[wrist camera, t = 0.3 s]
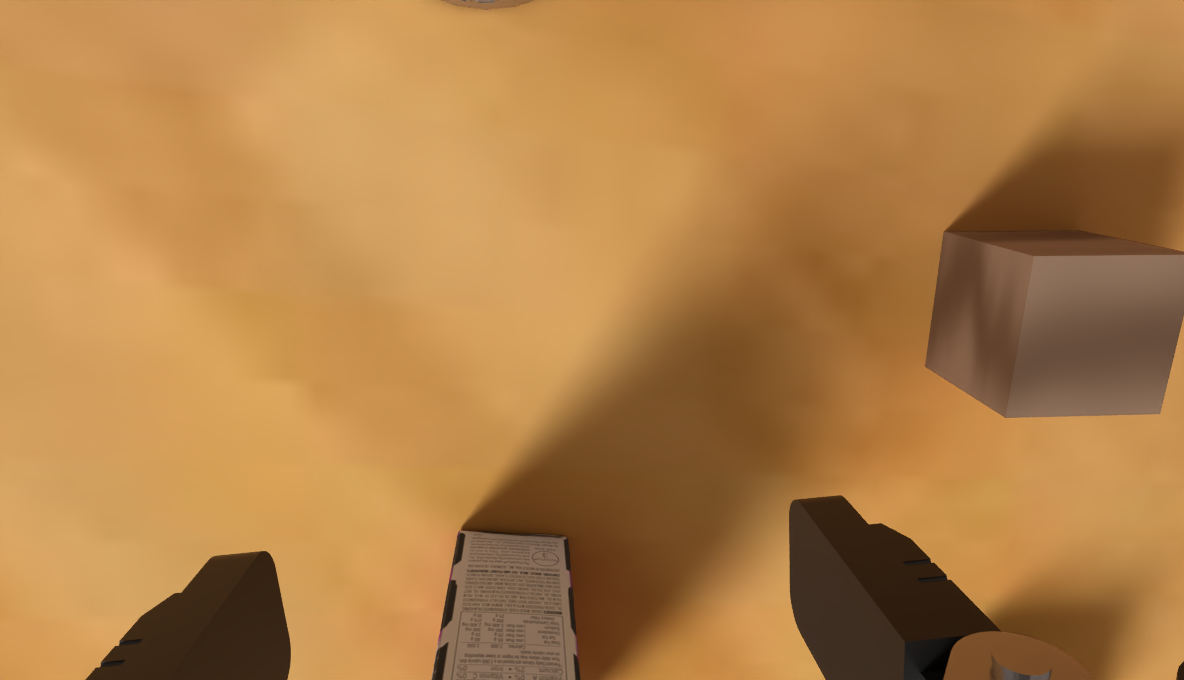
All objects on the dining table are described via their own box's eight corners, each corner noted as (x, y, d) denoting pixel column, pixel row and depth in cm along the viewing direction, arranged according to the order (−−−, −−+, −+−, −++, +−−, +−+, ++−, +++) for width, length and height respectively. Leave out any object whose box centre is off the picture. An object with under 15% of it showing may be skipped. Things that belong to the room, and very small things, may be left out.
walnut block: (942, 231, 28) (1034, 256, 23) (1078, 230, 29) (1197, 254, 24) (923, 365, 30) (1005, 417, 25) (1052, 363, 30) (1159, 413, 25)
